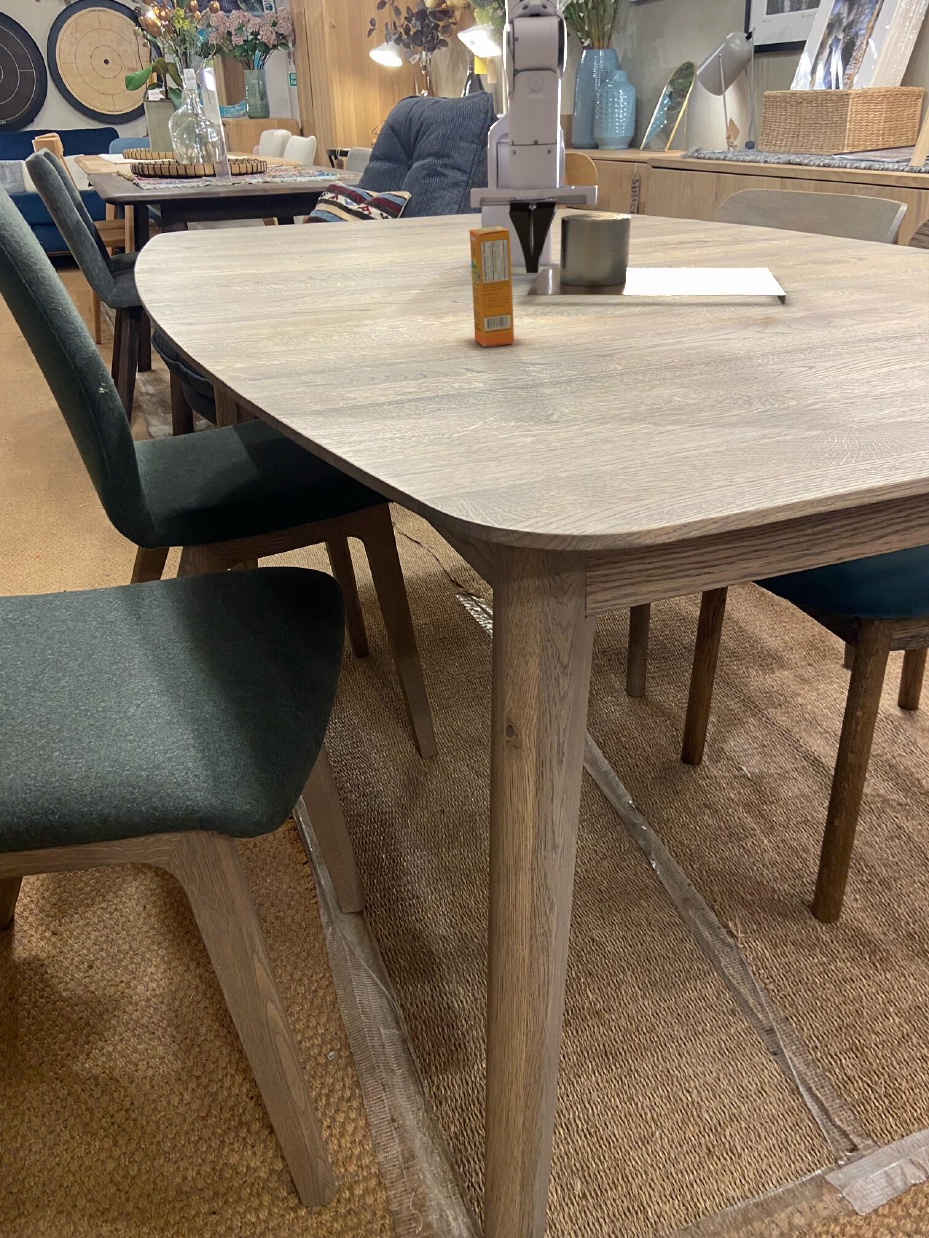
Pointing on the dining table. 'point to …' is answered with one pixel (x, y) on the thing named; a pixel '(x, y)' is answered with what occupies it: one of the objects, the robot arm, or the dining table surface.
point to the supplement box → (492, 286)
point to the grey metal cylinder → (594, 249)
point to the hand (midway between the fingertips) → (532, 272)
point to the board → (680, 280)
